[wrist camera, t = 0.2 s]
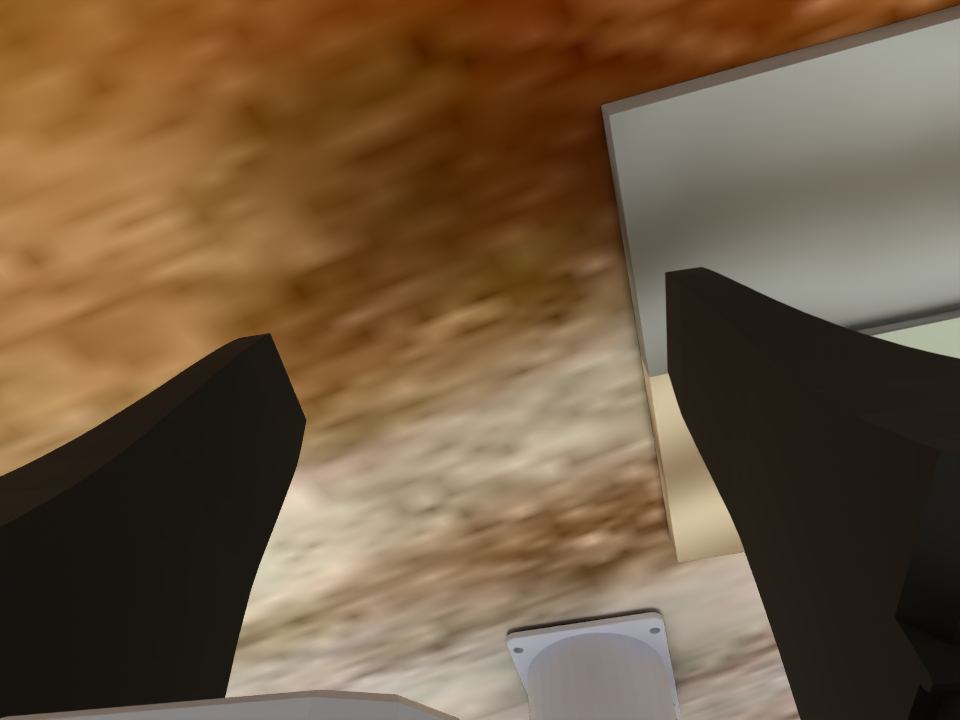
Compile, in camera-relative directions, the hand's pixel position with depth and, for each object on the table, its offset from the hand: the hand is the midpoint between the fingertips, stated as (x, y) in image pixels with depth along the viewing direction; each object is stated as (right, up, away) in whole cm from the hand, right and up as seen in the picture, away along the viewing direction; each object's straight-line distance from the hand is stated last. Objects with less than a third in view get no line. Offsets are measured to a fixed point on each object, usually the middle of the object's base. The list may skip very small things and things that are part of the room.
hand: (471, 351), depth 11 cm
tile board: (+13, +1, +11) cm, 17 cm away
